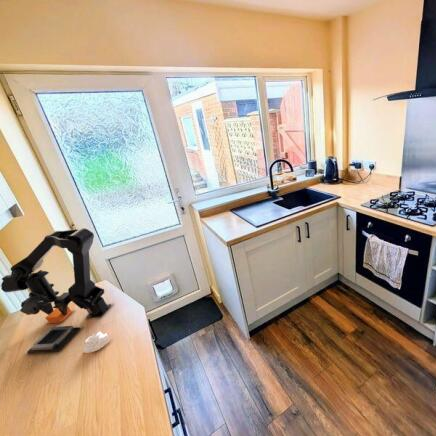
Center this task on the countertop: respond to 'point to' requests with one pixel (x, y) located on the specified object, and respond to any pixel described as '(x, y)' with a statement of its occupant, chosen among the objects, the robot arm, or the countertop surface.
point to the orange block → (57, 316)
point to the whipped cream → (95, 342)
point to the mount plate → (54, 339)
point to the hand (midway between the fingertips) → (59, 315)
